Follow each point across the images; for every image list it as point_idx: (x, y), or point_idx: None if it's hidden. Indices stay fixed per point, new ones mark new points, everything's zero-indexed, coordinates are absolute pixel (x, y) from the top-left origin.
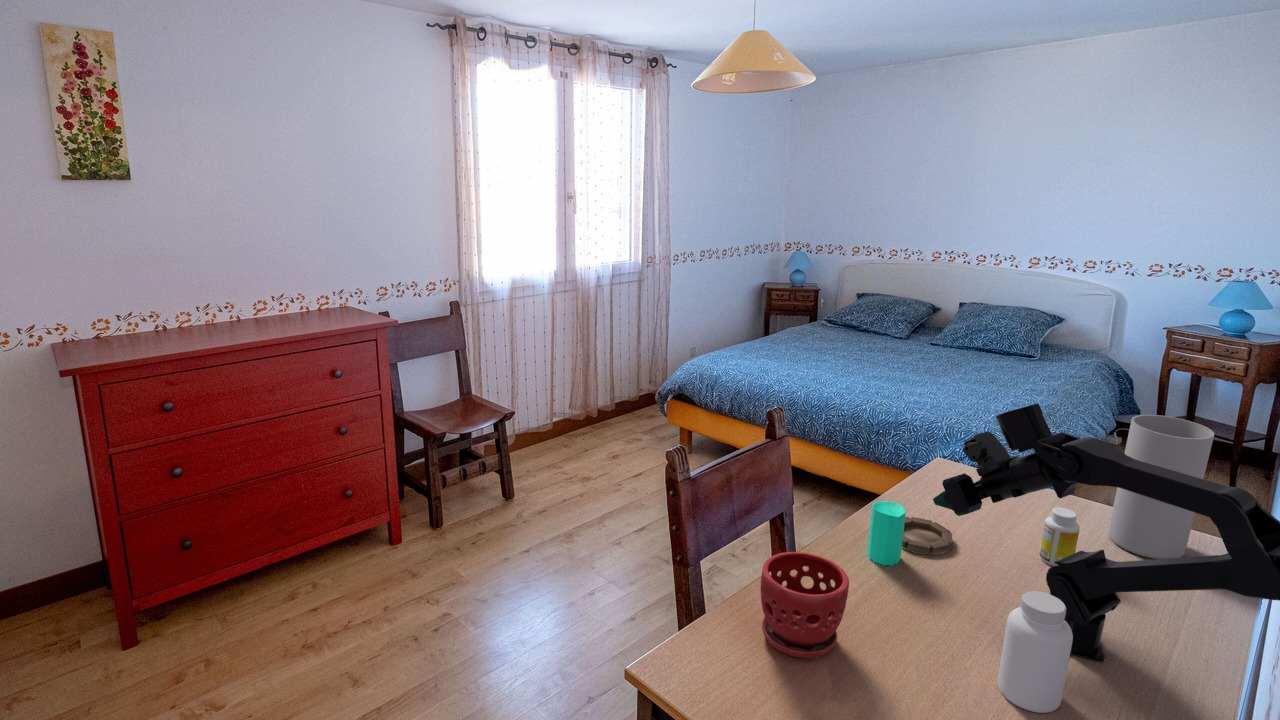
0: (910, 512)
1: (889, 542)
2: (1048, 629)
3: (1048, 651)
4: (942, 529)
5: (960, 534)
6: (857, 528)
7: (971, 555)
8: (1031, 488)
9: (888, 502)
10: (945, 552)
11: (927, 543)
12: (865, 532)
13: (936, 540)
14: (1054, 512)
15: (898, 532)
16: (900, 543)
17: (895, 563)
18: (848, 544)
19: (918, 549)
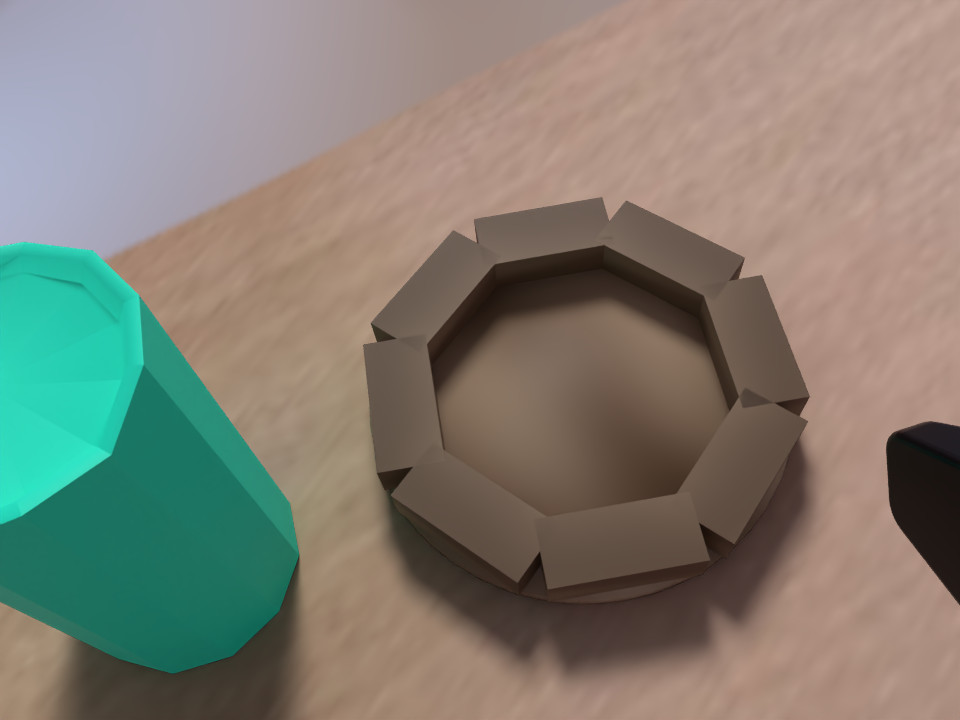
0: (695, 128)
1: (44, 616)
2: None
3: None
4: (759, 367)
5: (904, 389)
6: (263, 237)
7: (849, 660)
8: None
9: (83, 267)
10: (659, 591)
11: (534, 520)
12: (280, 280)
13: (671, 447)
14: None
15: (72, 594)
16: (168, 614)
17: (198, 663)
18: None
19: (453, 548)
